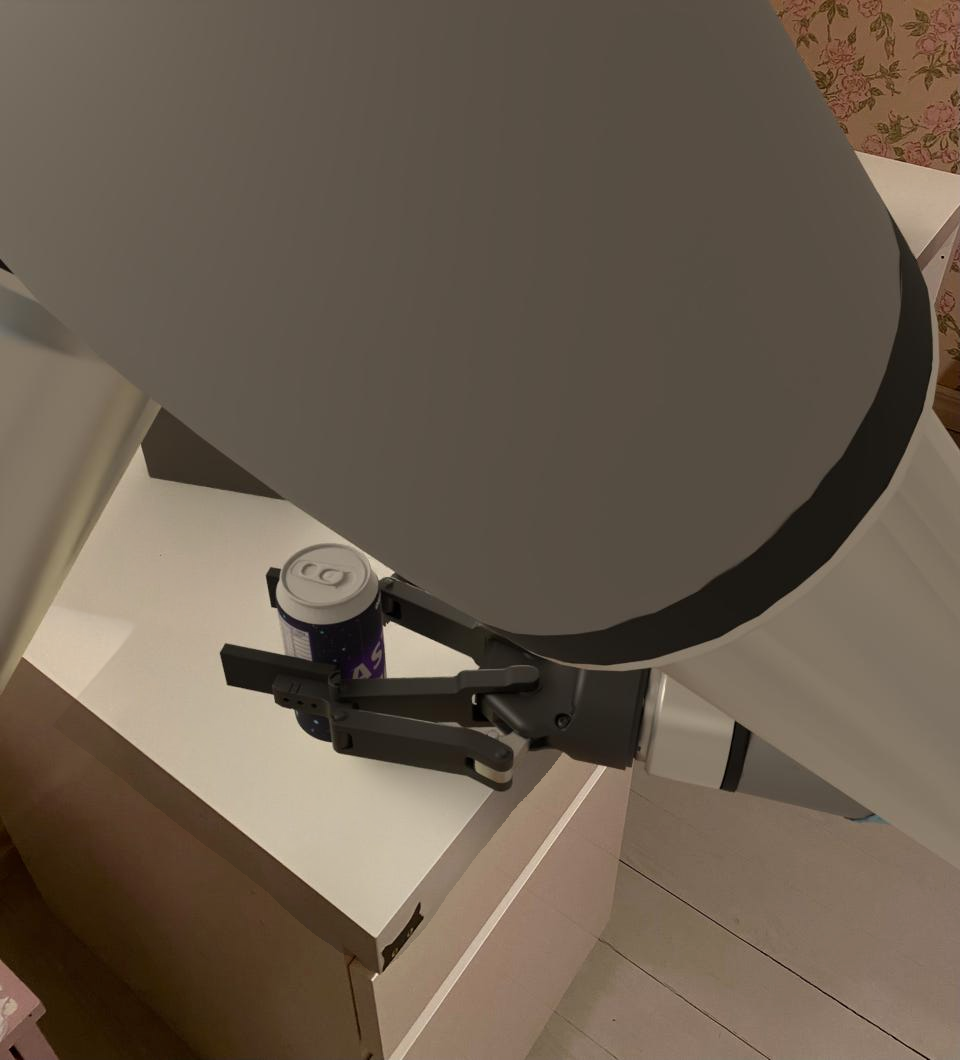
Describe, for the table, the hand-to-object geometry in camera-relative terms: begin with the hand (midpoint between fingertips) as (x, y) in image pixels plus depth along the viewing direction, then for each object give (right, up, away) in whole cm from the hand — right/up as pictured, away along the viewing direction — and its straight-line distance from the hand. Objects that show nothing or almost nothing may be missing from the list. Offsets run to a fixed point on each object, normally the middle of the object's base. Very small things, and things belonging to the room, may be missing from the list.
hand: (250, 624), depth 61 cm
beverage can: (+5, -6, +4) cm, 9 cm away
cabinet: (-5, +13, +28) cm, 31 cm away
